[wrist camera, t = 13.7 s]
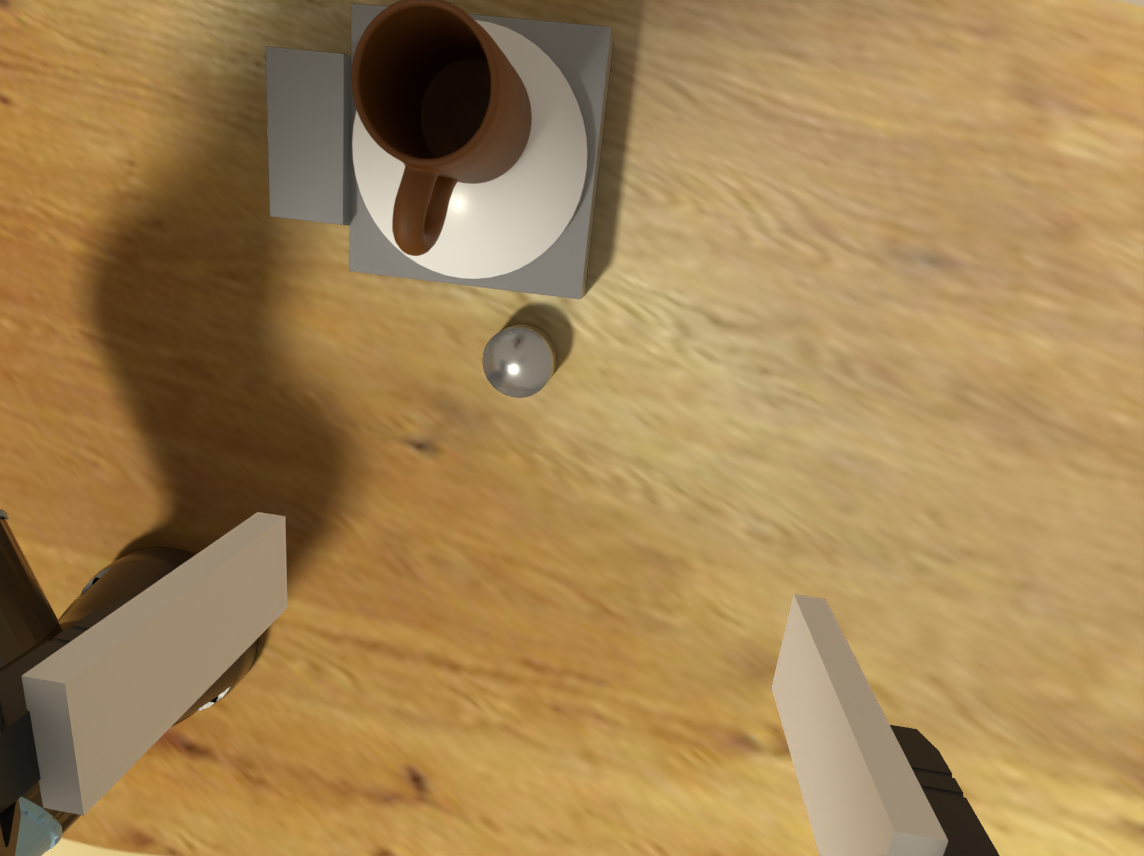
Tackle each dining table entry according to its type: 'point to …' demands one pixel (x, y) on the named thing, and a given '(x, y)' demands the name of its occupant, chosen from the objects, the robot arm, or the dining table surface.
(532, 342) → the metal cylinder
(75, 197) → the dining table surface
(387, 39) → the mug
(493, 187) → the scale
